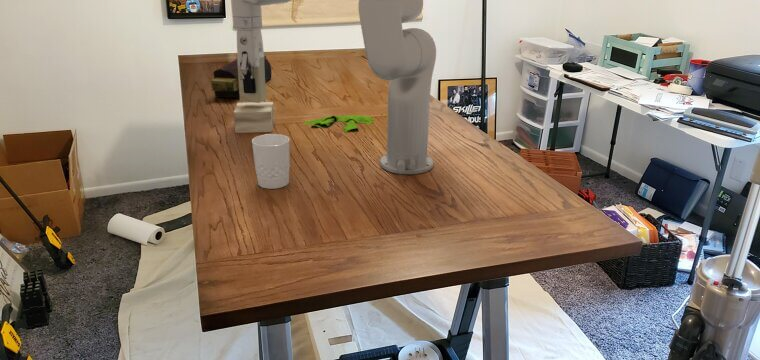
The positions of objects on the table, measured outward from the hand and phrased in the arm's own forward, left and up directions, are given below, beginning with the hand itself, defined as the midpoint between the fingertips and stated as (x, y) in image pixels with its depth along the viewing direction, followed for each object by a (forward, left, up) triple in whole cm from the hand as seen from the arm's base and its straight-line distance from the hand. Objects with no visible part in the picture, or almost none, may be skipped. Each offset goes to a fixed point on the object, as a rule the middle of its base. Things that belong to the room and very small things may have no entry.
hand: (252, 89), depth 155 cm
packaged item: (+44, +15, -11) cm, 48 cm away
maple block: (0, 0, -11) cm, 11 cm away
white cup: (-39, -14, -11) cm, 43 cm away
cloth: (+4, -23, -12) cm, 26 cm away
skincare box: (0, 0, -3) cm, 3 cm away
